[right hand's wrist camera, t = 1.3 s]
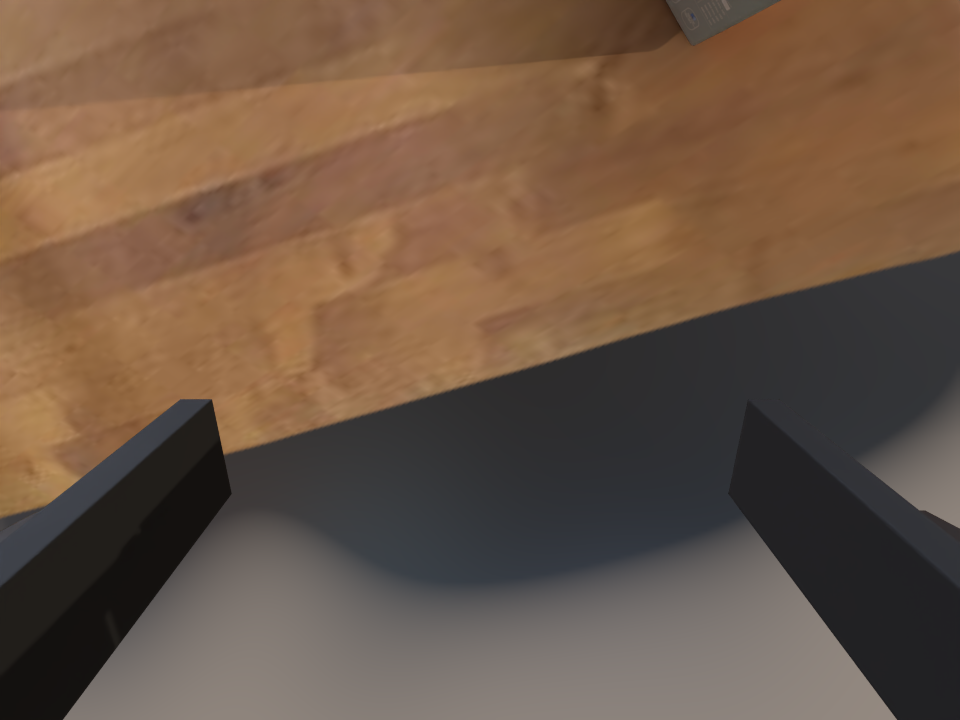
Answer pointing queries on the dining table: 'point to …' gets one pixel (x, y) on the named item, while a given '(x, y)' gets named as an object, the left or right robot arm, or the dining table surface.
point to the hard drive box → (713, 15)
